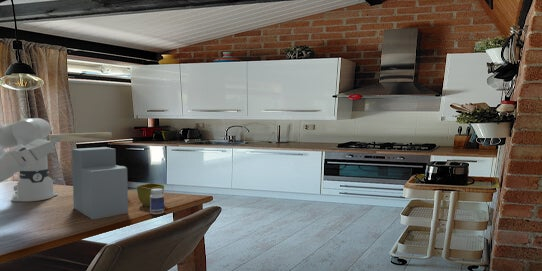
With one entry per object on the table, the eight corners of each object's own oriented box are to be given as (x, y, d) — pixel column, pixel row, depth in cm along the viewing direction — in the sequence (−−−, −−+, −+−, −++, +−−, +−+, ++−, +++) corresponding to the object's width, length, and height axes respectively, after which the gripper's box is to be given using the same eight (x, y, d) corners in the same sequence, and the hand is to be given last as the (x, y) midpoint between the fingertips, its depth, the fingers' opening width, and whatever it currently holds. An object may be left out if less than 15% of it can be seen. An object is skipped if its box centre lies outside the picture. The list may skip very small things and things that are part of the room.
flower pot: (165, 204, 167) (164, 184, 166) (149, 208, 159) (149, 188, 159) (151, 201, 171) (151, 182, 171) (136, 205, 164) (136, 186, 163)
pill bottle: (166, 212, 153) (166, 189, 152) (154, 215, 148) (154, 191, 148) (159, 210, 157) (159, 187, 156) (147, 212, 152) (146, 189, 152)
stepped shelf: (73, 208, 159) (71, 149, 158) (106, 202, 169) (105, 147, 168) (92, 219, 142) (90, 153, 141) (128, 212, 152) (126, 151, 150)
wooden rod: (47, 141, 148) (47, 134, 148) (108, 138, 164) (108, 132, 164) (50, 142, 145) (49, 134, 145) (111, 139, 162) (111, 132, 161)
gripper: (23, 160, 149) (55, 141, 157) (34, 165, 135) (69, 144, 143) (13, 147, 147) (46, 129, 155) (24, 151, 132) (60, 131, 140)
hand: (57, 136), depth 148 cm, fingers closed on wooden rod, 4 cm apart
